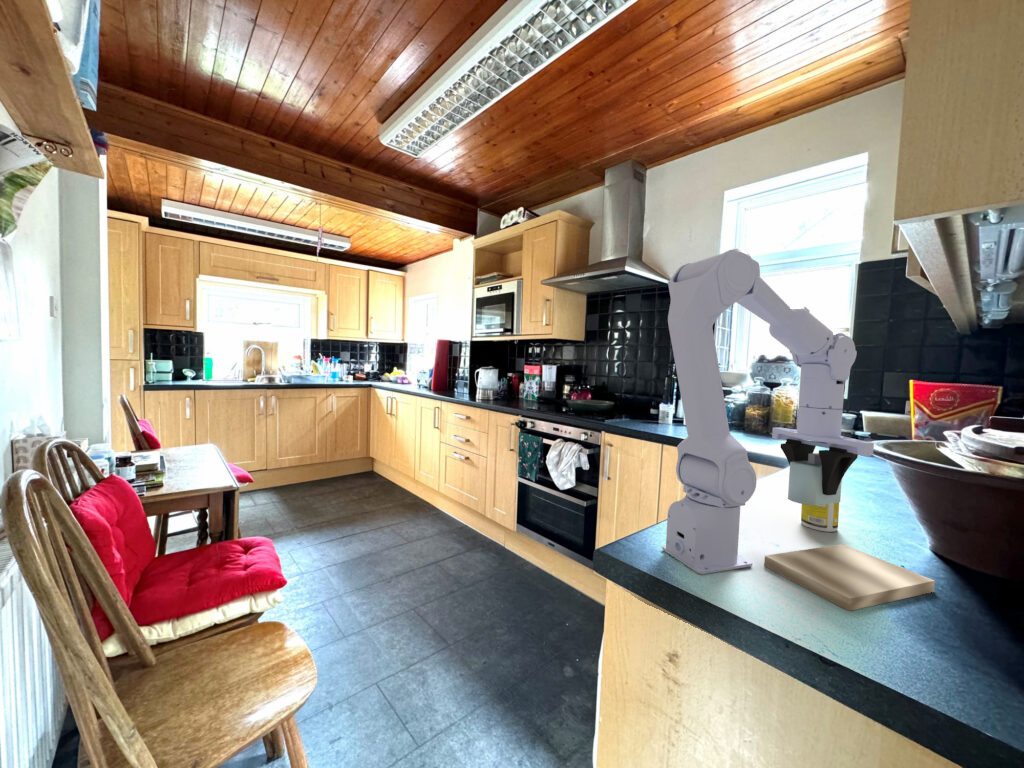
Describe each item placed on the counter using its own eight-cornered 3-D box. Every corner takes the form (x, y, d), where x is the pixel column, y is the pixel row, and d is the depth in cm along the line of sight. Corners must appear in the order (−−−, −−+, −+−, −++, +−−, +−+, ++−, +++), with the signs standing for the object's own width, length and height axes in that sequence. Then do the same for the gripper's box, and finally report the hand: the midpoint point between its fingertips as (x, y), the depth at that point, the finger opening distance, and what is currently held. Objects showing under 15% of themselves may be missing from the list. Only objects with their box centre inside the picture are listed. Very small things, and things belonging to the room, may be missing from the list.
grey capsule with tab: (806, 505, 62) (809, 457, 62) (781, 497, 66) (784, 452, 66) (846, 501, 65) (849, 455, 65) (820, 494, 69) (823, 450, 68)
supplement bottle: (824, 522, 76) (827, 471, 75) (845, 533, 70) (848, 479, 70) (794, 520, 76) (797, 469, 76) (812, 531, 71) (816, 477, 70)
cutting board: (848, 610, 47) (849, 598, 47) (764, 565, 57) (764, 555, 57) (933, 591, 52) (934, 580, 52) (841, 553, 62) (842, 544, 62)
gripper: (890, 412, 59) (883, 502, 60) (794, 403, 73) (789, 476, 74) (857, 412, 57) (850, 506, 58) (765, 403, 71) (760, 478, 71)
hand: (814, 490), depth 65 cm, fingers closed on grey capsule with tab, 4 cm apart
